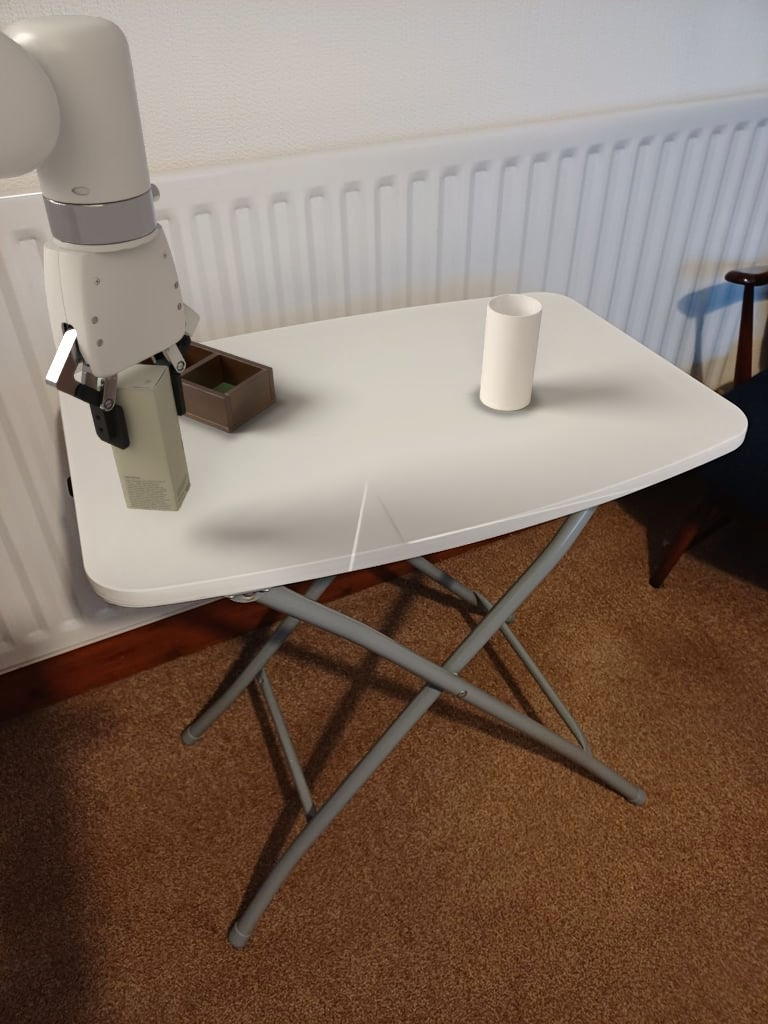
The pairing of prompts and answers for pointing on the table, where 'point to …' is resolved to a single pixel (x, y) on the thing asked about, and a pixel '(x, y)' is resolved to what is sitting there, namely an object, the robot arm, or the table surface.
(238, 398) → the divided tray
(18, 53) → the robot arm
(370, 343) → the table surface
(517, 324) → the cup
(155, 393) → the box
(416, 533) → the table surface
